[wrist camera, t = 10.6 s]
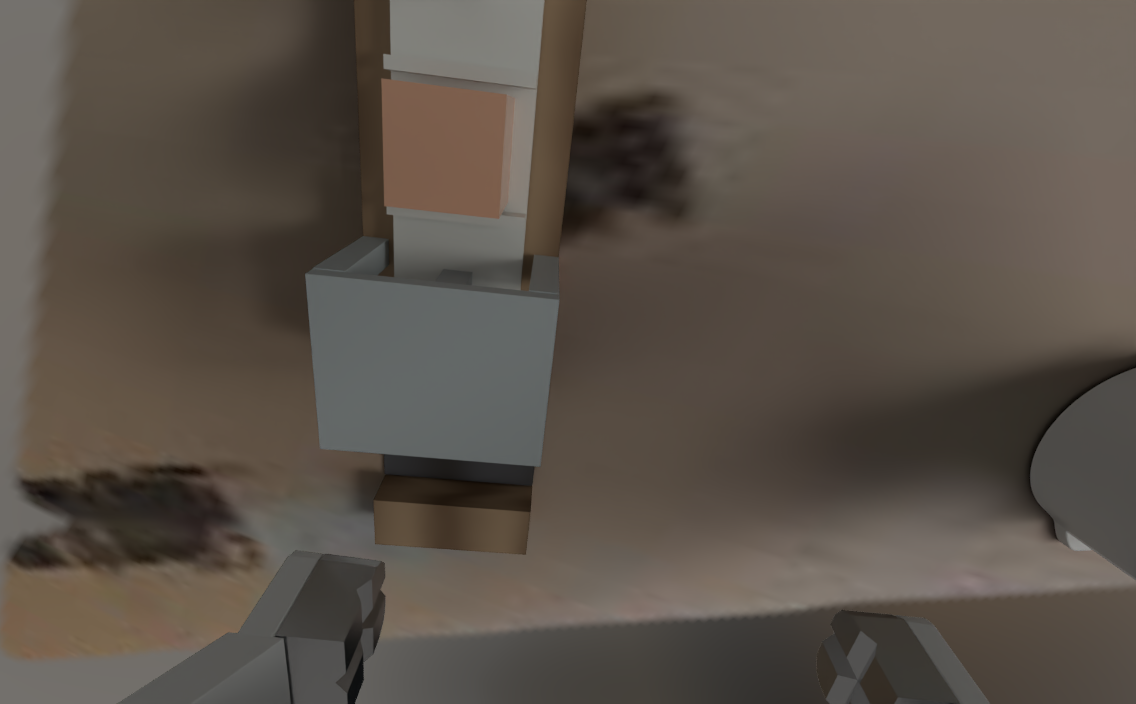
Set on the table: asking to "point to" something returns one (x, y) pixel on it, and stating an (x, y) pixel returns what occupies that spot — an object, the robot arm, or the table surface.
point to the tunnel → (430, 360)
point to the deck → (503, 491)
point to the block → (446, 148)
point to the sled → (483, 63)
